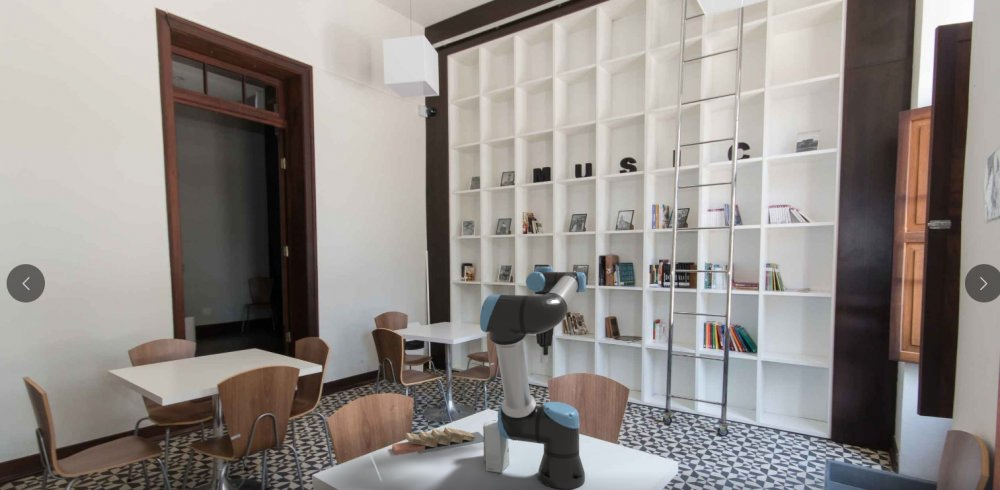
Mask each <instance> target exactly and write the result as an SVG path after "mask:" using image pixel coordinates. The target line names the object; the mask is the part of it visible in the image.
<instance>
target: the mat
mask: <svg viewBox="0 0 1000 490" xmlns="http://www.w3.org/2000/svg"><path fill="white" fill-rule="evenodd" d="M470 433H471V434H472V435H473V436H474V437H475V439H474V441H470V440H465V439H463V440H462V443H457V442H452V441H451V442H450V445H444V444H439V443H437V447H430V446H425V450H421V451H417V453H418V454H427V453H430V452H437V451H443V450H447V449H453V448H460V447H464V446H465V447H466V446H471V445H475V444H476V445H477V444H481V443H484V439H483V434H481V433H480V432H479V431H475V432H470Z"/></svg>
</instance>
